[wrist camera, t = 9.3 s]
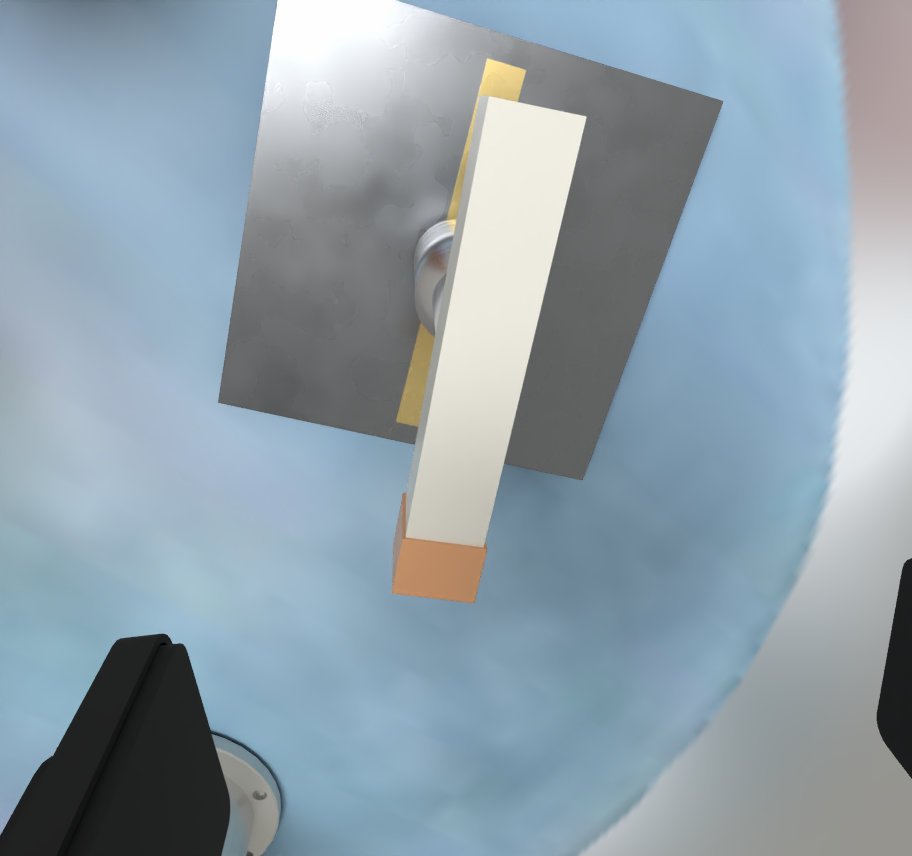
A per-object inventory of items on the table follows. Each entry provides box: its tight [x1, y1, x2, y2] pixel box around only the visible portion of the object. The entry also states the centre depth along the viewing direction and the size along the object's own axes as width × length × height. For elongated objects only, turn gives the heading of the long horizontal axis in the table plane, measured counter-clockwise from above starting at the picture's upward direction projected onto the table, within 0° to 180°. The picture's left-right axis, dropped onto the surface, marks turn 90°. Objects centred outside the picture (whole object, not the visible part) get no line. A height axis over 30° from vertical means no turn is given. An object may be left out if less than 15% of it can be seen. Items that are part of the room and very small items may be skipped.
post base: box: [218, 0, 723, 480], centre depth 30 cm, size 18×18×8 cm
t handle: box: [392, 96, 586, 603], centre depth 23 cm, size 3×14×7 cm, turn 169°
